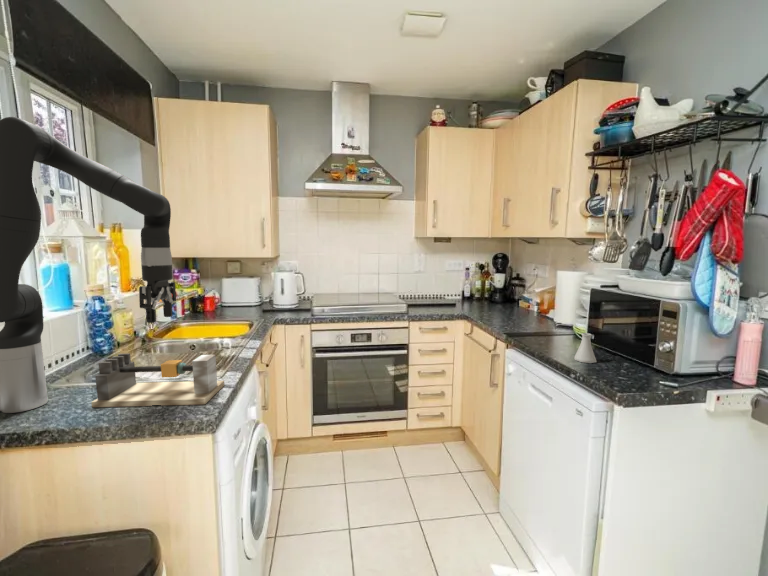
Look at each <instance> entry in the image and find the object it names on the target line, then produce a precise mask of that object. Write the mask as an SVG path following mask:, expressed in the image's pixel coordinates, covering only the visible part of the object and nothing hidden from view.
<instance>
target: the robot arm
mask: <svg viewBox="0 0 768 576" xmlns="http://www.w3.org/2000/svg"><path fill="white" fill-rule="evenodd" d="M35 162H36V163H39V164H42V165H46V166H48V167H50V168H51V167H52V168H55V169H57V170H59V171H61V172H64V173H66V174H67V175H70V176H72V177H73V178H75V179H76V180H78V181H80V182H81V183H82V184H84V185H86V186H87V187H89V188H91V189H93V190H94V191H97V192H98V193H100V194H103V195H104V196H106V197H108V198H110V199H112V200H115V201H117V202H119V203H122V204H124V205H125V206H127V207H128V208H130V209H132V210H133V211H135V212H137V213H139V214H140V215H143V227H142V228H141V229H140V246H141V250H140V251H141V252H140V263H141V267H140V268H141V279H142V281H144V282H147V283H146V285H143V286H142V285H141V286H139V288H138V291H139V293H138V295H139V300H138V302H139V308H140V309H143V310H145V316H146V319H145V320H146V323H148V324H153V323H156V322H157V314H156V313H157V312H156V307H157V304H158V303H159V302H160V301H161V302H162V303H163V306H162V307H163V308H162V309H163V317H165V318H170V317H173V304H174V302H176V301H177V291H176V282H175V281H171V280H173V279H174V277H173V275H174V274H173V259H172V257H173V256H172V251H171V239H170V237H171V236H170V228H171V227H170V226H171V217H172V216H171V215H172V212H171V211H172V209H171V204H170V201H169V200H168V198H166V196H164V195H162V194H161V193H158V192H156V191H154V190H151V189H149V187H145V186H143V185H141V184H139V183H136V182H135V181H133V180H132V179H131V178H129V177H128V176H125V175H123V174H122V173H120V172H118V171H116V170H114V169H112V168H111V167H108V166H105V165H103V164H101V163H100V162H97V161H95V160H93V159H90V158H88V157H87V156H84V155H82V154H80V153H79V152H77V151H75V150H74V149H72V148H70V147H68V146H67V145H65V144H63V143H62V142H61V141H59V140H58V139H57V138H56V137H54V136H53V135H51V134H50V133H48V132H47V131H46V130H45V129H44V128H42V127H41V126H38V125H36V124H34V123H32V122H30V121H27V120H25V119H24V118H23V119H22V118H19V117H16V116H8V117H3V118H2V119H0V323H4V326H3V327H2V329H1V330H0V412H2V413H4V414H12V413H22V412H25V411H26V412H27V411H30V410H33V409H37V408H39V407H41V406H44V405H46V404H47V403H48V402H49V399H48V390H47V389H48V387H47V380H46V379H47V378H46V373H45V372H46V371H45V362H44V354H43V353H44V352H43V346H42V344H43V343H42V337H41V336H42V334H43V331H44V309H43V307H44V306H43V301H42V297H41V295H40V293H39V291H38V290H37V289H36V288H35V287H34V286H32V285H30V284H25V283H19V280H20V276H21V275H20V274H21V271H22V268H23V265H24V264H25V262H26V260H27V259H28V257H29V256H30V255H31V253H32V251H33V250H34V249H35V247H36V246H37V244H38V241H39V239H40V233H41V223H42V211H41V206H40V202H39V199H38V197H37V194H36V191H35V187H34V184H33V170H34V163H35Z"/></svg>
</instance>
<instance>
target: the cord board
mask: <svg viewBox="0 0 768 576" xmlns="http://www.w3.org/2000/svg"><path fill="white" fill-rule="evenodd" d="M216 358H217V357H216V354H201V355H199V356H198V357H196V358H195V359H193V360H192V361H191V363H192V364H191V365H189V364H187V363H186V362H182V363H179V365H178V366H177V371H178V374H180V375H184V374H185V373H186V372H192V376H193V380H191V381H154V382H151V381H150V382H137V380H136V379H137V377H136V373H161V365H154V366H153V365H151V366H150V365H149V366H145V365H144V366H143V365H142V366H136V365H135V361H131V353H118V354H117V355H115V356H112V357H111V358H107V359H105V361H100V362H98V372H99V373H98V374H95V375H94V377H95V384H96V385H95V386H96V395H97V396H96V397H97V398H96V399H94V400H92V401H91V407H92V408H112V407H113V408H116V407H117V408H118V407H119V408H120V407H151V406H152V405H161V406H187V405H188V406H192V405H195V406H196V405H198V406H199V405H206V404H207V403H208V402H209V401H210V400H211V399H212V398H213V397H214V396H215V395H216V394H217V393H218V392H219V391H221V390H222V388H224V386H225V380H218V374H217V361H216V360H217V359H216ZM152 407H153V406H152Z"/></svg>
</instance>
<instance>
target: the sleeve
mask: <svg viewBox="0 0 768 576" xmlns="http://www.w3.org/2000/svg"><path fill="white" fill-rule="evenodd" d="M179 363H183V360H182V359H173V360H172V359H171V360H166V361H165V362H162V363H161V364H160V366H161V372H160V373H161V378H177V377H178V376H180V375H181V374H178V371H177V366H178V365H179Z"/></svg>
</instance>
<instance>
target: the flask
mask: <svg viewBox="0 0 768 576" xmlns="http://www.w3.org/2000/svg"><path fill="white" fill-rule="evenodd" d="M581 336H582V337H581V342H580V344H579V347H578V349H577V350H576V353H575V355H574V357H573V359H574V360H575V361H576V362H580V363H583V364H585V363H587V364H592V363H597V359H596V356H595V352H594V351H593V346H592V342H591V337H592V336H593V335H592V333H589V332H588V333H587V332H583V333H581Z"/></svg>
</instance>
